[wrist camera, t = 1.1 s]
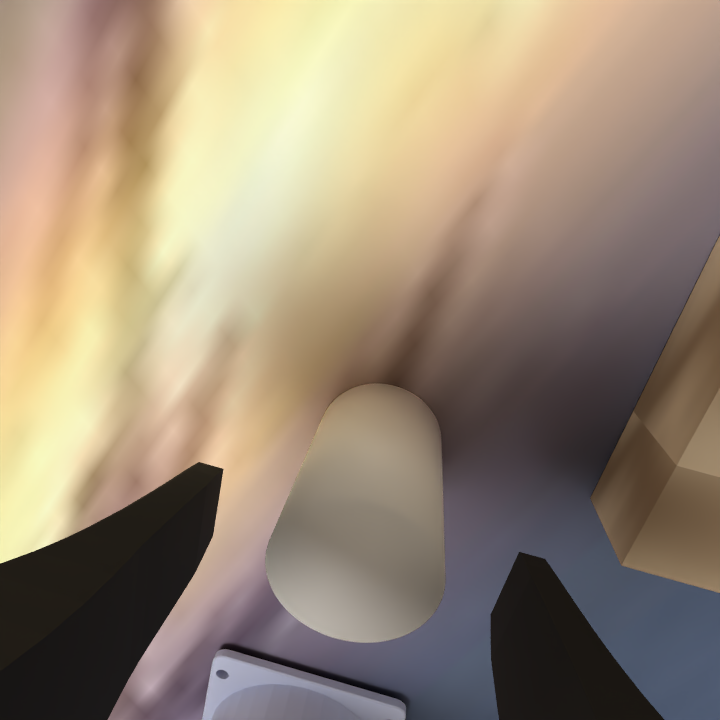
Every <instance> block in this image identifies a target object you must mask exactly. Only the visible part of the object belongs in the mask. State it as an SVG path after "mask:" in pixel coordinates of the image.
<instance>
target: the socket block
mask: <svg viewBox="0 0 720 720" xmlns="http://www.w3.org/2000/svg"><path fill="white" fill-rule="evenodd" d="M590 499H591V501H592V503H593V505H594V507H595V510H596V512H597V514H598V516H599V518H600V520H601V523H602V525H603V527H604V529H605V531H606V533H607V536H608V538H609V540H610V542H611V544H612V546H613V549H614V551H615V553H616V555H617V557H618V559H619V562H620V564H621V566H625V567H629V568H632V569H636V570H639V571H643V572H647V573H650V574H654V575H657V576H661V577H664V578H668V579H672V580H675V581H679V582H682V583H686V584H690V585H693V586H697V587H700V588H704V589H707V590H711V591H715V592H718V593H720V236H719V238H718V240H717V242H716V244H715V246H714V248H713V250H712V252H711V254H710V256H709V258H708V260H707V262H706V264H705V266H704V268H703V270H702V272H701V274H700V277H699V279H698V281H697V283H696V285H695V287H694V289H693V291H692V293H691V295H690V297H689V299H688V301H687V303H686V305H685V307H684V309H683V311H682V313H681V315H680V317H679V319H678V321H677V323H676V325H675V327H674V329H673V331H672V333H671V335H670V337H669V339H668V341H667V344H666V346H665V348H664V350H663V352H662V354H661V356H660V358H659V360H658V362H657V364H656V366H655V368H654V370H653V372H652V374H651V376H650V378H649V380H648V382H647V384H646V386H645V388H644V390H643V392H642V394H641V396H640V398H639V400H638V402H637V404H636V406H635V409H634V411H633V413H632V415H631V417H630V419H629V421H628V423H627V425H626V427H625V429H624V431H623V433H622V435H621V437H620V439H619V441H618V443H617V445H616V447H615V449H614V451H613V453H612V455H611V457H610V459H609V461H608V463H607V465H606V467H605V469H604V471H603V473H602V476H601V478H600V480H599V482H598V484H597V486H596V488H595V490H594V492H593V494H592V496H591V498H590Z"/></svg>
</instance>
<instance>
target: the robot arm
mask: <svg viewBox="0 0 720 720" xmlns="http://www.w3.org/2000/svg"><path fill="white" fill-rule="evenodd" d="M222 475H223V469H222V468H218V467H214V466H211V465H207V464H204V463H200V462H198V463H197V464H195V465H193V466H191V467H190V468H188V469H187V470H185V471H183V472H182V473H180V474H179V475H177V476H176V477H174V478H173V479H171V480H169V481H168V482H166V483H165V484H163V485H162V486H160V487H158V488H157V489H155V490H154V491H152V492H150V493H149V494H147V495H145V496H144V497H142V498H140V499H139V500H137V501H135V502H133V503H132V504H130V505H128V506H127V507H125V508H123V509H121V510H120V511H118V512H116V513H114V514H112V515H110V516H108V517H106V518H105V519H103V520H101V521H99V522H97V523H95V524H93V525H91V526H90V527H88V528H86V529H83V530H81V531H79V532H77V533H75V534H73V535H71V536H69V537H67V538H65V539H62V540H60V541H58V542H55V543H53V544H51V545H48V546H46V547H44V548H41V549H39V550H36V551H34V552H31V553H28V554H26V555H23V556H20V557H17V558H15V559H12V560H9V561H6V562H4V563H1V564H0V720H107V719H108V718H109V716H110V714H111V712H112V710H113V708H114V706H115V704H116V702H117V700H118V698H119V696H120V694H121V693H122V691H123V689H124V687H125V685H126V683H127V681H128V679H129V677H130V676H131V674H132V672H133V671H134V669H135V667H136V666H137V664H138V662H139V660H140V659H141V657H142V656H143V654H144V653H145V651H146V649H147V648H148V646H149V645H150V643H151V642H152V640H153V638H154V637H155V635H156V634H157V632H158V631H159V629H160V627H161V626H162V624H163V623H164V621H165V620H166V618H167V617H168V615H169V613H170V612H171V610H172V609H173V607H174V606H175V604H176V602H177V601H178V599H179V598H180V596H181V595H182V593H183V591H184V590H185V588H186V587H187V585H188V583H189V582H190V580H191V579H192V577H193V575H194V574H195V572H196V570H197V568H198V566H199V564H200V562H201V560H202V558H203V556H204V553H205V551H206V549H207V547H208V545H209V543H210V541H211V539H212V537H213V532H214V526H215V519H216V513H217V507H218V500H219V494H220V487H221V481H222ZM491 661H492V670H493V677H494V685H495V693H496V700H497V707H498V715H499V720H664V719H663V718H662V716H661V715H660V714H659V713H658V712H657V711H656V710H655V708H654V707H653V706H652V705H651V704H650V703H649V701H648V700H647V699H646V698H645V697H644V695H643V694H642V693H641V692H640V691H639V689H638V688H637V687H636V686H635V684H634V683H633V682H632V680H631V679H630V678H629V677H628V675H627V674H626V673H625V671H624V670H623V669H622V668H621V666H620V665H619V664H618V662H617V661H616V660H615V659H614V657H613V656H612V655H611V653H610V652H609V650H608V649H607V648H606V646H605V645H604V644H603V642H602V641H601V640H600V638H599V637H598V635H597V634H596V633H595V631H594V630H593V628H592V627H591V625H590V624H589V623H588V621H587V620H586V618H585V617H584V615H583V614H582V612H581V611H580V610H579V608H578V607H577V605H576V604H575V602H574V601H573V599H572V598H571V596H570V595H569V593H568V592H567V590H566V589H565V587H564V586H563V584H562V583H561V581H560V580H559V578H558V577H557V575H556V574H555V573H554V571H553V570H552V568H551V567H550V565H549V564H548V563H547V561H546V560H545V559H543V558H539V557H536V556H532V555H529V554H525V553H521V552H519V554H518V556H517V558H516V560H515V562H514V565H513V567H512V569H511V571H510V573H509V576H508V578H507V580H506V582H505V584H504V587H503V589H502V591H501V593H500V595H499V598H498V600H497V602H496V604H495V606H494V609H493V611H492V613H491ZM405 718H406V706H405V704H404V703H403V702H402V701H401V700H398V699H396V698H392V697H389V696H386V695H382V694H379V693H375V692H372V691H368V690H365V689H362V688H358V687H355V686H351V685H348V684H345V683H341V682H338V681H334V680H331V679H328V678H324V677H321V676H317V675H314V674H311V673H307V672H304V671H300V670H297V669H293V668H290V667H287V666H283V665H280V664H276V663H273V662H270V661H266V660H263V659H259V658H256V657H253V656H249V655H246V654H242V653H239V652H235V651H232V650H228V649H222V650H219V651H218V652H217V653H216V655H215V657H214V659H213V662H212V667H211V673H210V679H209V684H208V690H207V695H206V701H205V706H204V712H203V718H202V720H405Z"/></svg>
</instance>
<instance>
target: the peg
mask: <svg viewBox="0 0 720 720" xmlns="http://www.w3.org/2000/svg"><path fill="white" fill-rule="evenodd" d="M265 564H266V573H267V578H268V580H269V583H270V586H271V588H272V590H273V592H274V594H275V596H276V597H277V598H278V600H279V601H280V603H281V604H282V605H283V606H284V607H285V609H286V610H287V611H288V612H289V613H290V614H292V615H293V616H294V617H295V618H296V619H297V620H299V621H300V622H302V623H303V624H304V625H306V626H308V627H310V628H311V629H313V630H315V631H317V632H319V633H322V634H324V635H327V636H330V637H333V638H336V639H340V640H344V641H351V642H362V643H372V642H382V641H388V640H392V639H396V638H399V637H402V636H404V635H407V634H409V633H411V632H412V631H414V630H416V629H418V628H419V627H420V626H422V625H423V624H424V623H425V622H426V621H427V620H428V619H429V618H430V617H431V616H432V615H433V614H434V612H435V611H436V610H437V608H438V606H439V604H440V602H441V600H442V597H443V594H444V590H445V546H444V511H443V476H442V441H441V431H440V427H439V424H438V421H437V419H436V417H435V415H434V414H433V412H432V411H431V409H430V408H429V407H428V406H427V405H426V404H425V402H424V401H422V400H421V399H420V398H419V397H418V396H416V395H414V394H413V393H411V392H409V391H407V390H405V389H403V388H400V387H397V386H394V385H389V384H380V383H376V384H365V385H360V386H357V387H354V388H352V389H349V390H347V391H345V392H344V393H342V394H341V395H339V396H338V397H337V398H336V399H335V400H334V401H333V402H332V403H331V404H330V405H329V407H328V408H327V409H326V411H325V413H324V415H323V417H322V420H321V422H320V424H319V427H318V429H317V431H316V434H315V436H314V438H313V440H312V443H311V445H310V447H309V450H308V452H307V454H306V457H305V459H304V461H303V464H302V466H301V468H300V471H299V473H298V475H297V478H296V480H295V482H294V484H293V487H292V489H291V491H290V494H289V496H288V498H287V501H286V503H285V505H284V508H283V510H282V512H281V515H280V517H279V519H278V522H277V524H276V526H275V528H274V531H273V533H272V535H271V538H270V540H269V543H268V546H267V550H266V557H265Z"/></svg>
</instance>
